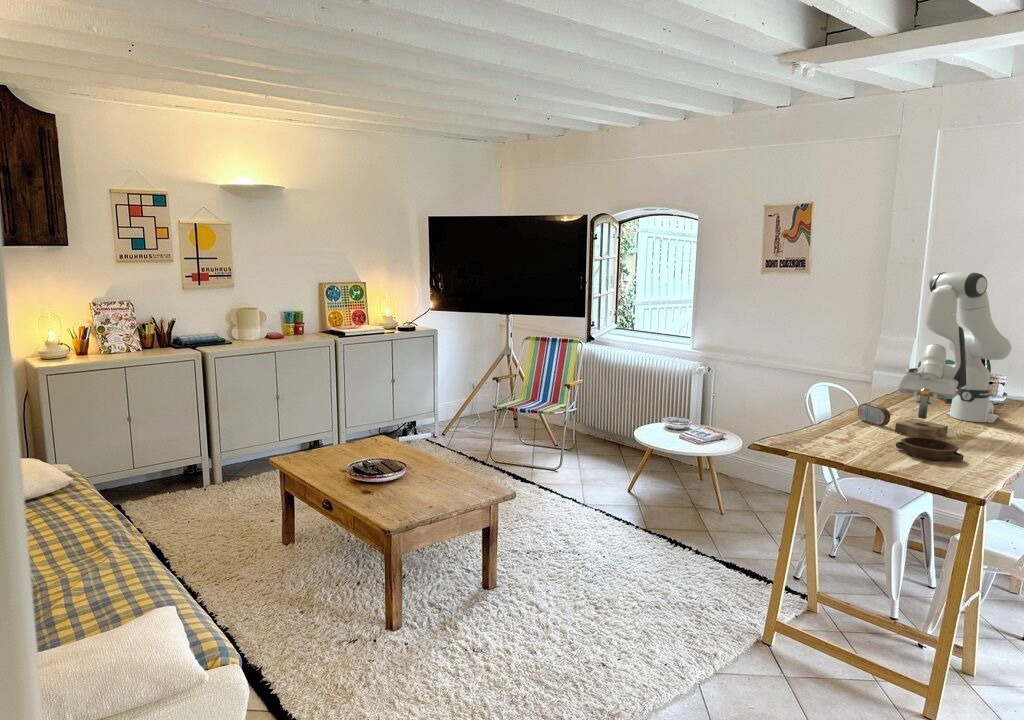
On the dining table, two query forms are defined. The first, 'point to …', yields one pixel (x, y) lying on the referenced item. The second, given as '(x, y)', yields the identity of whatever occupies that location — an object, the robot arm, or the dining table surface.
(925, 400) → the grey upright cylinder
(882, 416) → the tin
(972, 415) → the robot arm
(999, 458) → the dining table surface
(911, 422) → the brown square frame
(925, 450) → the dish
